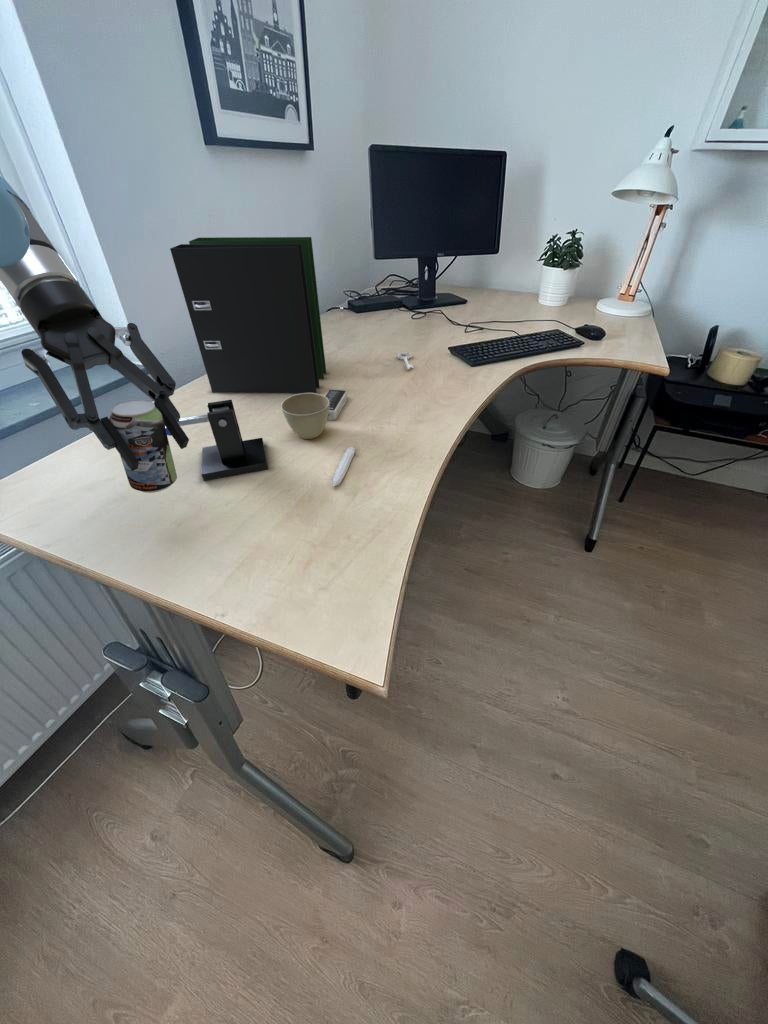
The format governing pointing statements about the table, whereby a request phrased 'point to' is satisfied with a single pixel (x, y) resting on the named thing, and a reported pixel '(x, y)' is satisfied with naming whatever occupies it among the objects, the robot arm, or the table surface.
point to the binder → (254, 312)
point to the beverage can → (145, 445)
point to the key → (405, 359)
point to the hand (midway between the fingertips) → (160, 454)
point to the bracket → (230, 446)
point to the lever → (195, 419)
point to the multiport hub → (336, 402)
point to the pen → (343, 466)
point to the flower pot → (306, 413)
